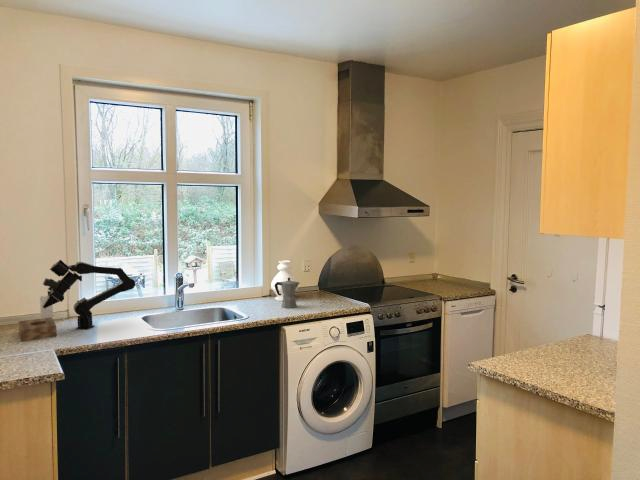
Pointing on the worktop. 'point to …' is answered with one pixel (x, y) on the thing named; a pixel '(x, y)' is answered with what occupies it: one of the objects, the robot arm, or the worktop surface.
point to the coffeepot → (288, 293)
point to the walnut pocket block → (37, 329)
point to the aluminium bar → (45, 311)
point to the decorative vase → (282, 277)
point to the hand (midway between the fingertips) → (43, 306)
